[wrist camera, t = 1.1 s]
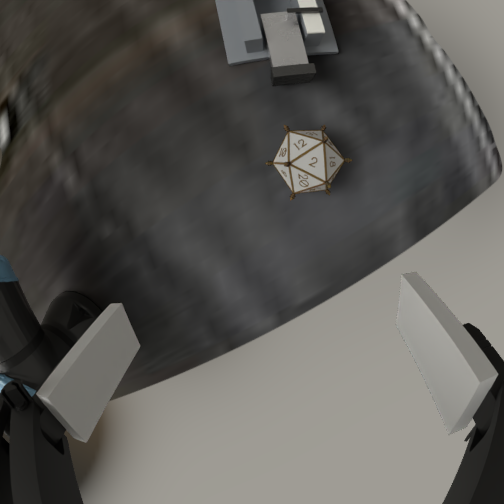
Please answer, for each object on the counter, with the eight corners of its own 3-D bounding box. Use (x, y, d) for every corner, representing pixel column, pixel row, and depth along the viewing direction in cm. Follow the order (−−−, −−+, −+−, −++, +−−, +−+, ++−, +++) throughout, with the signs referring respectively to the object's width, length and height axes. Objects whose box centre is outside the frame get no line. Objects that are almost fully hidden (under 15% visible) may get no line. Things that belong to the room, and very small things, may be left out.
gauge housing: (229, 66, 29) (222, 51, 24) (215, -2, 25) (207, -23, 19) (336, 54, 28) (349, 38, 22) (315, -13, 23) (322, -34, 18)
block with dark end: (272, 86, 29) (273, 75, 24) (258, 25, 26) (257, 7, 21) (329, 80, 28) (340, 70, 23) (313, 20, 25) (320, 2, 20)
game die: (312, 166, 37) (350, 214, 31) (254, 172, 35) (285, 225, 29) (326, 109, 30) (375, 150, 24) (261, 108, 28) (302, 152, 22)
